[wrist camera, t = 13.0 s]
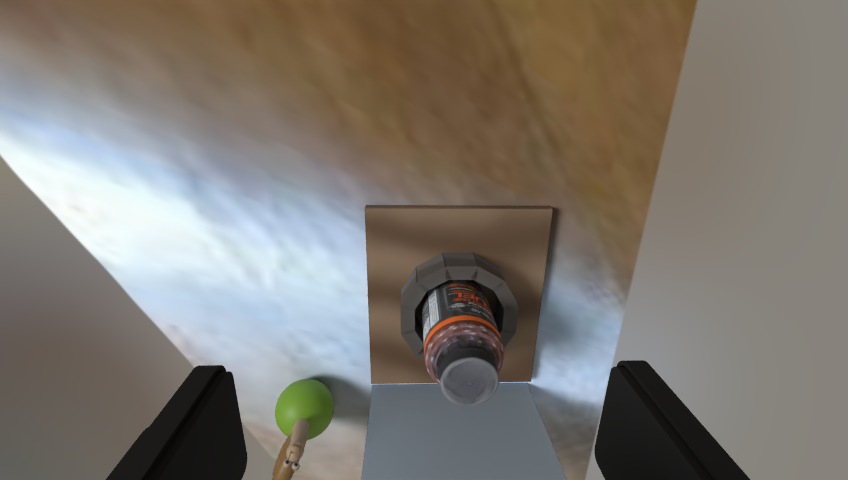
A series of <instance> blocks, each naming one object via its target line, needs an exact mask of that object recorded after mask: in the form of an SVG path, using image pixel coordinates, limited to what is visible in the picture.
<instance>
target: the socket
mask: <svg viewBox="0 0 848 480" xmlns="http://www.w3.org/2000/svg"><path fill="white" fill-rule="evenodd" d="M552 212H553V209H552V208H551V207H550V206H411V205H366V207H365V226H366V253H367V280H368V307H369V335H370V362H371V384H387V383H437V382H436V381H435V380H433V379H432V377H431V376H430V374H429V372H428V371H427V368H426V364H425V359H424V340H423V321H422V300H423V297H424V295H425V294H426V292H427V291H428V290H430V289H432V288H434V287H436V286H438V285H440V284H442V283H444V282H446V281H448V280H474V281H475V282H476V283H477V284H479V286H480V287H481V288H482V290H483V291H484V293H485V296H486V298H487V301H488V304H489V306H490V309H491V312H492V315H493V317H494V321H495V323H496V325H497V329H498V331H499V334H500V337H501V340H502V343H503V347H504V362H503V366H502V368H501V370H500V372H499V374H498V376H499V382H531V377H532V369H533V361H534V353H535V345H536V338H537V330H538V322H539V314H540V306H541V298H542V291H543V283H544V275H545V267H546V259H547V251H548V243H549V236H550V228H551V220H552Z"/></svg>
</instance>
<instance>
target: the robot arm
mask: <svg viewBox="0 0 848 480" xmlns="http://www.w3.org/2000/svg"><path fill="white" fill-rule="evenodd" d="M595 458H596V461H597V464H598V466H599V468H600V470H601V472H602V474H603V476H604V478H605V480H750V479H749V478H748V477H747V475H746V474H745V473H744V472H743V471H742V470H741V469H740V468H739V466H738V465H737V464H736V463H735V462H734V461H733V459H732V458H731V457H730V456H729V455H728V454H727V453H726V451H725V450H724V449H723V448H722V447H721V446H720V445H719V443H718V442H717V441H716V440H715V439H714V438H713V437H712V435H711V434H710V433H709V432H708V431H707V430H706V429H705V427H704V426H703V425H702V424H701V423H700V422H699V421H698V420H697V418H696V417H695V416H694V415H693V414H692V413H691V412H690V410H689V409H688V408H687V407H686V406H685V405H684V404H683V403H682V401H681V400H680V399H679V398H678V397H677V396H676V394H675V393H674V392H673V391H672V390H671V389H670V388H669V387H668V385H667V384H666V383H665V382H664V381H663V380H662V379H661V377H660V376H659V375H658V374H657V373H656V372H655V370H654V369H653V368H652V367H651V366H650V365H649V364H648V363H647V362H646V361H620V362H619V363H618V364H617V367H613V368H612V369H611V372H610V377H609V381H608V386H607V391H606V396H605V401H604V405H603V410H602V415H601V420H600V425H599V430H598V434H597V439H596V444H595ZM246 464H247V452H246V446H245V440H244V435H243V429H242V423H241V418H240V412H239V407H238V401H237V395H236V390H235V384H234V379H233V374H232V373H231V372H226V369H225V368H224V366H221V365H215V366H197V367H195V368H194V369H193V370H192V372H191V373H190V374H189V376H188V377H187V378H186V380H185V381H184V382H183V384H182V385H181V386H180V387H179V389H178V390H177V391H176V393H175V394H174V395H173V397H172V398H171V399H170V400H169V402H168V403H167V404H166V406H165V407H164V408H163V410H162V411H161V412H160V414H159V415H158V416H157V418H156V419H155V420H154V421H153V423H152V424H151V425H150V427H148V428H146V429H145V431H143V432H142V434H141V435H140V436H139V437H138V439H137V440H136V441H135V442H134V444H133V445H132V446H131V448H130V449H129V450H128V452H127V453H126V454H125V455H124V457H123V458H122V459H121V461H120V462H119V464H117V466H116V467H115V468H114V470H113V471H112V472H111V474H110V475H109V476H108V478H107V479H106V480H241V479H242V477H243V475H244V472H245V469H246Z"/></svg>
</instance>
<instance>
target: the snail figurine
mask: <svg viewBox="0 0 848 480" xmlns="http://www.w3.org/2000/svg"><path fill="white" fill-rule="evenodd" d="M333 414H334V399H333V396H332V394H331V392H330V390H329V389H328V388H327V387H326V386H325V385H324V384H323V383H321V382H319V381H317V380H313V379H303V380H299V381H296V382H294V383H292V384H291V385H289V386H288V387H287V388H286V389H285V390H284V391H283V392H282V394H281V395H280V397H279V399H278V401H277V404H276V409H275V417H276V422H277V424H278V427H279V428H280V430H281V431H282V432H283V433H284V434H285V435H286V436H288V438H287V439H286V441H285V443H284V444H283V446H282V448H281V450H280V453H279V456H278V458H277V461H276V464H275V467H274V470H273V478H272V480H290V479H291V478H292V475H293V473H294V471H295V470H298V469H299V467H300V465H299V463H298V462H299V460H300V458H301V457H302V455H303V452H304V447H305V444H306V441H307V440H309V439H312V438H314V437H316V436H318V435H320V434H321V433H322V432H323V431H324V430H325V429H326V428H327V427H328V425H329V424H330V422H331V420H332V417H333Z"/></svg>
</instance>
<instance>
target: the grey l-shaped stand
mask: <svg viewBox="0 0 848 480" xmlns="http://www.w3.org/2000/svg"><path fill="white" fill-rule="evenodd" d="M361 480H566V477H565V475H564V472H563V470H562V467H561V465H560V462H559V460H558V458H557V455H556V453H555V450H554V448H553V445H552V443H551V440H550V438H549V435H548V433H547V430H546V428H545V426H544V423H543V421H542V418H541V416H540V413H539V411H538V408H537V406H536V403H535V401H534V399H533V396H532V394H531V391H530V389H529V386H528V384H527V383H499V384H498V388H497V390H496V392H495V394H494V395H493V396H492V397H491V398H490V399H488V400H487V401H486V402H483V403H481V404H478V405H475V406H460V405H457V404H454V403H452V402H451V401H449V400H448V399H447V398H446V397H445V396H444V394H443V393H442V390H441V387H440V385H439V384H417V385H372V393H371V401H370V410H369V418H368V427H367V435H366V443H365V452H364V460H363V469H362V477H361Z"/></svg>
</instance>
